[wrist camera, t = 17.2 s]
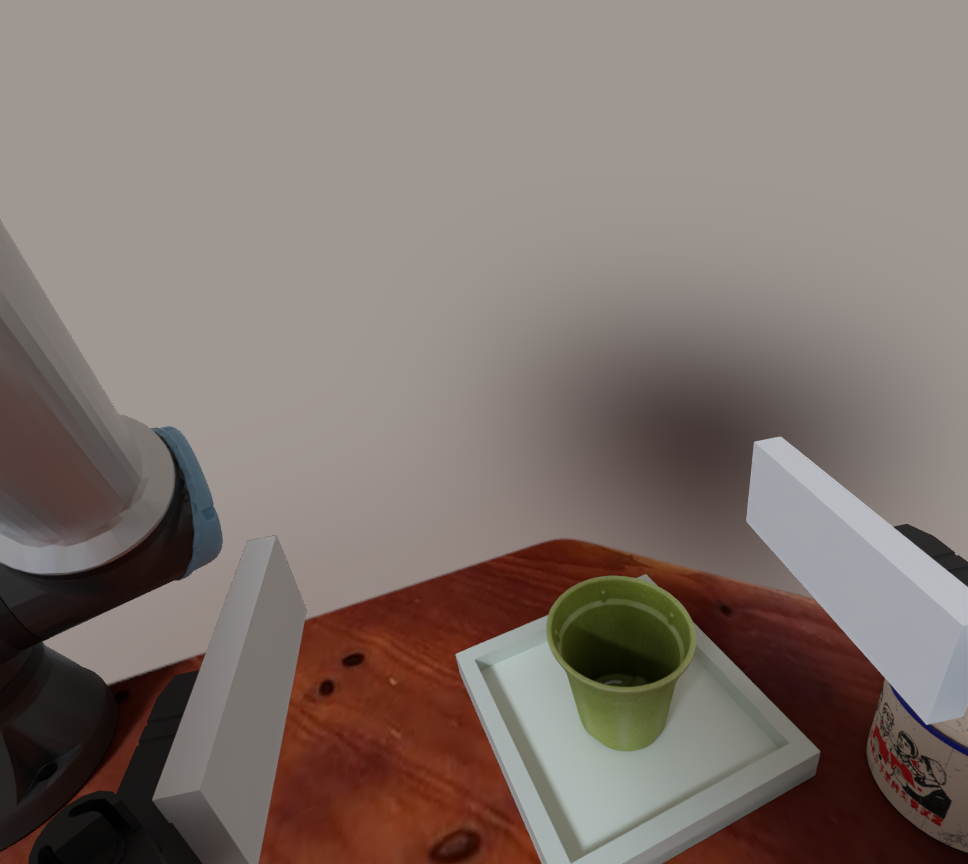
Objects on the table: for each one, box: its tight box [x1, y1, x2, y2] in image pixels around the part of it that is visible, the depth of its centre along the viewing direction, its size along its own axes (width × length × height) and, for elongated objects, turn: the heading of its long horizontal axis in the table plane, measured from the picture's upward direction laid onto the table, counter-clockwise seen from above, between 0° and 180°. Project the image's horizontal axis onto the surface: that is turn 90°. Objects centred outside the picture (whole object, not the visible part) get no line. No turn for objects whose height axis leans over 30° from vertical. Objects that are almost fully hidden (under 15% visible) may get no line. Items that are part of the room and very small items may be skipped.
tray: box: [455, 574, 821, 864], centre depth 41 cm, size 18×18×2 cm
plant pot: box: [546, 576, 696, 751], centre depth 39 cm, size 9×9×9 cm
